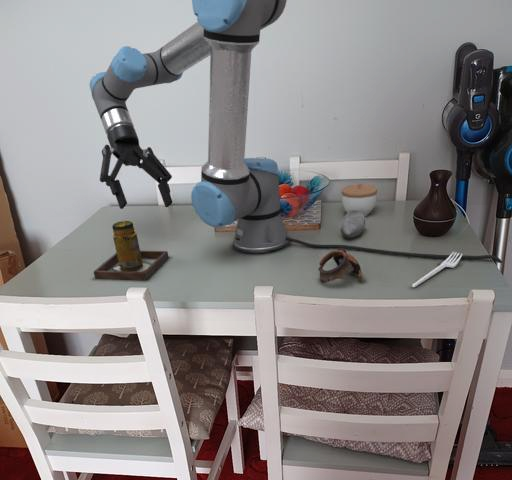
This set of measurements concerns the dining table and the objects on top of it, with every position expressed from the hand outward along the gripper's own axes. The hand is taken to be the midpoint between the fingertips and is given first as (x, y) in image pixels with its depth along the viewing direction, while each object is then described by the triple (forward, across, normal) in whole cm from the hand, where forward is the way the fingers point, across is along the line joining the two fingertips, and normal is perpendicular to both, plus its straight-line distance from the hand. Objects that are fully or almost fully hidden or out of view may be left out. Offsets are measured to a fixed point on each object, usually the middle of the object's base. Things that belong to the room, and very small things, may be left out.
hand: (147, 205), depth 135 cm
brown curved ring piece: (+37, -23, +31) cm, 54 cm away
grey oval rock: (+23, -48, +22) cm, 57 cm away
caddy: (+12, +3, -11) cm, 17 cm away
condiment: (+12, +3, -11) cm, 17 cm away
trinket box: (+14, -63, +17) cm, 66 cm away
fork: (+44, -39, +45) cm, 74 cm away
